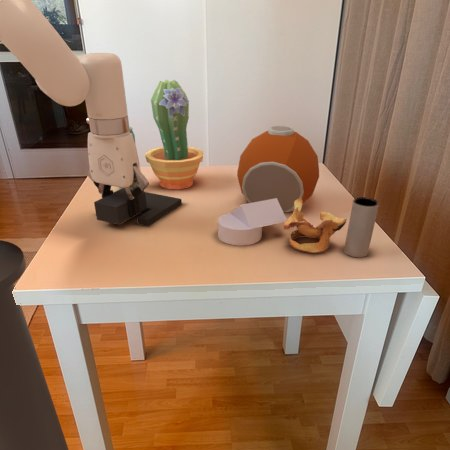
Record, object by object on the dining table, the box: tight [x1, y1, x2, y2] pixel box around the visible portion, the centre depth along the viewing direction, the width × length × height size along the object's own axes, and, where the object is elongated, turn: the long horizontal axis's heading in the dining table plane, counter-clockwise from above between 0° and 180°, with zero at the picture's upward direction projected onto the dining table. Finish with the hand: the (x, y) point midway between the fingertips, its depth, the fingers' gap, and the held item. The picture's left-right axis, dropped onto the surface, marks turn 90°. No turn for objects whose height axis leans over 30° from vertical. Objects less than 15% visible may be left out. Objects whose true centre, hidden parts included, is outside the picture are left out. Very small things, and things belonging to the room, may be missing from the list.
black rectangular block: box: [93, 188, 147, 226], centre depth 92 cm, size 6×10×4 cm, turn 154°
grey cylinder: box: [343, 196, 380, 258], centre depth 79 cm, size 4×4×10 cm
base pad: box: [136, 191, 183, 227], centre depth 98 cm, size 14×14×2 cm
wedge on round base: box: [217, 198, 288, 247], centre depth 86 cm, size 9×7×13 cm
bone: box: [283, 198, 347, 255], centre depth 82 cm, size 12×10×8 cm
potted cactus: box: [144, 79, 204, 190], centre depth 107 cm, size 15×15×25 cm
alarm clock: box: [236, 125, 320, 213], centre depth 98 cm, size 19×18×17 cm
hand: (122, 211), depth 93 cm, fingers closed on black rectangular block, 5 cm apart
